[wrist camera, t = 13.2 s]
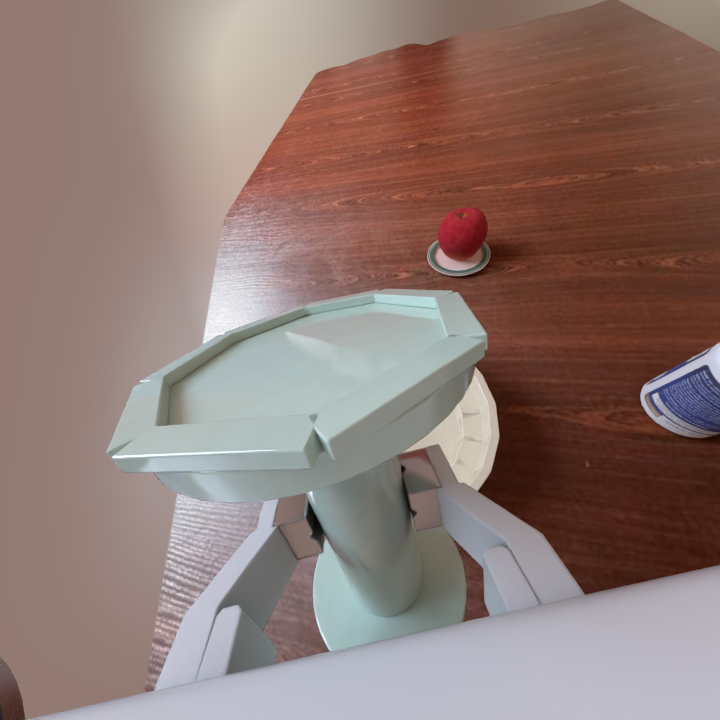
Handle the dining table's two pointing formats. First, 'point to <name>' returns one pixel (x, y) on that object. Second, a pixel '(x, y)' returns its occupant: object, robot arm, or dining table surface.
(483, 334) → the pedestal stand
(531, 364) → the dining table surface
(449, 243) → the apple
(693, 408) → the pill bottle
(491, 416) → the bowl
